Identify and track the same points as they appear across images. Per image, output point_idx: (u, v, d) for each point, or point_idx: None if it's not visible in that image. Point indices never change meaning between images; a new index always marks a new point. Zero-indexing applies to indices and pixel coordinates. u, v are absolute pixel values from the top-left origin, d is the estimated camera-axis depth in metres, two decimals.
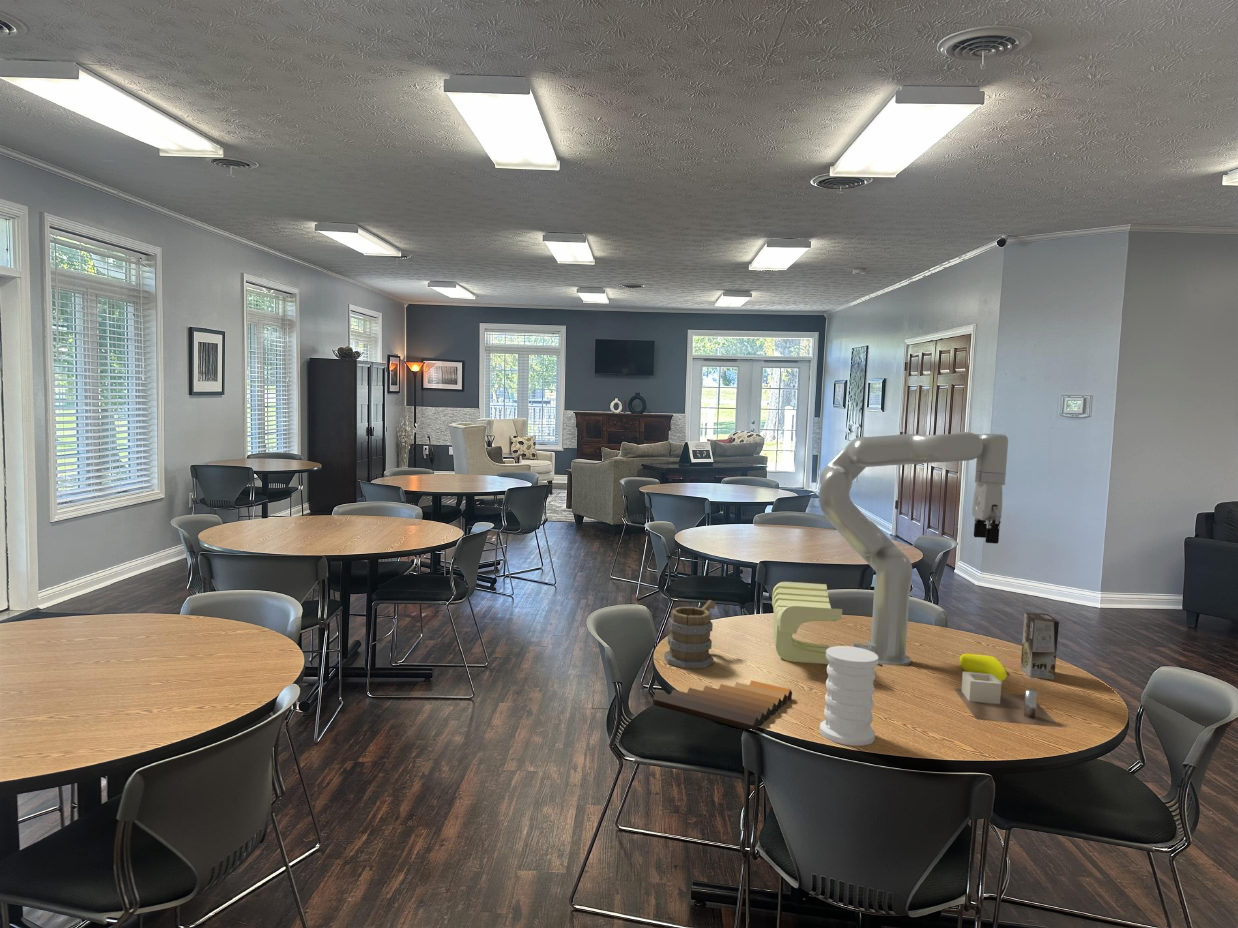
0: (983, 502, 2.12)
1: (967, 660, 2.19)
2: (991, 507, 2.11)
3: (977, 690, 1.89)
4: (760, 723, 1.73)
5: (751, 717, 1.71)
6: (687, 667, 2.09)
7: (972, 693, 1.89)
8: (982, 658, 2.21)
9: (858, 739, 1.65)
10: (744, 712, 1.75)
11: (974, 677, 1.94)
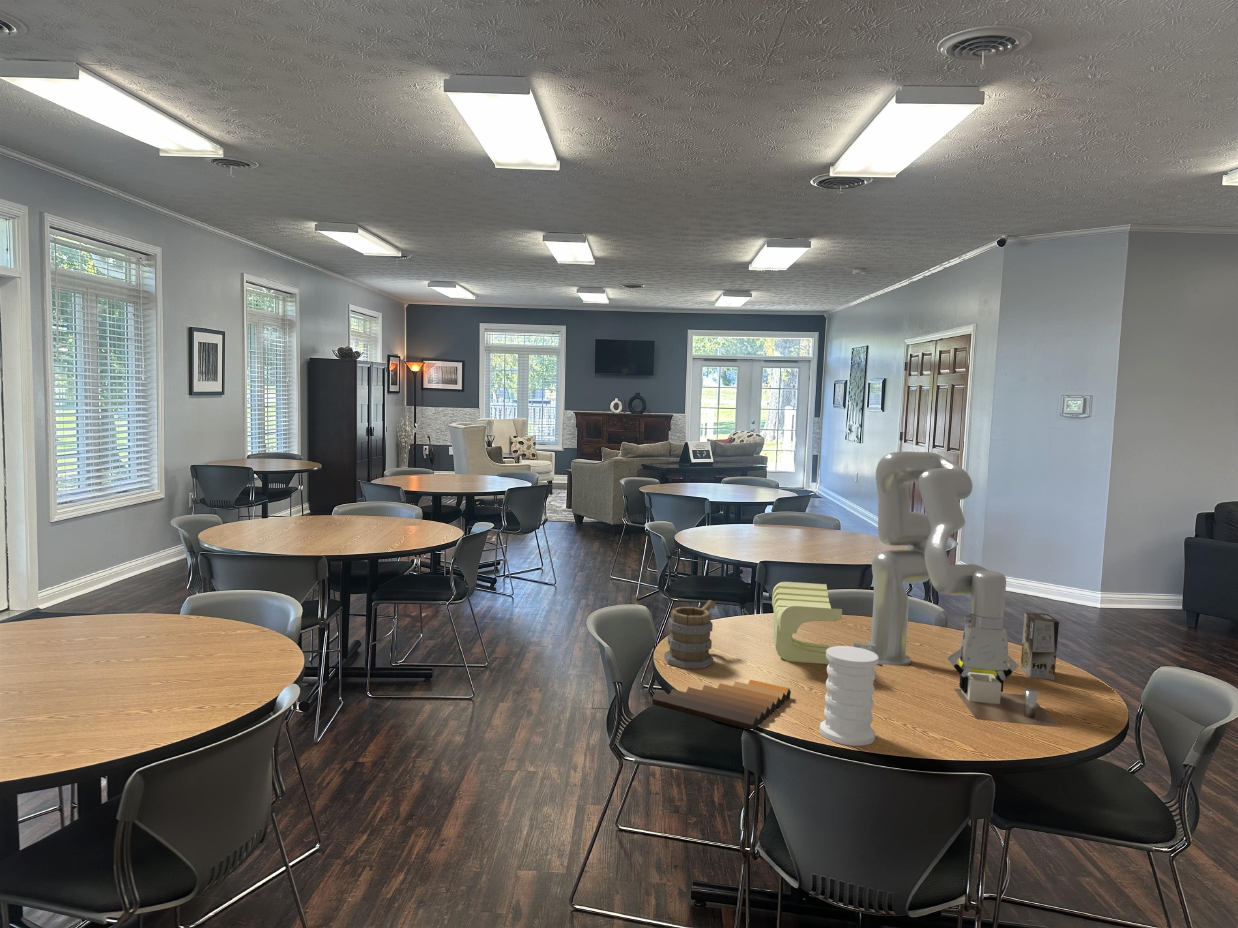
0: (1004, 651, 1.88)
1: None
2: None
3: (977, 690, 1.89)
4: (759, 722, 1.73)
5: (750, 716, 1.71)
6: (687, 667, 2.09)
7: (972, 693, 1.89)
8: None
9: (858, 739, 1.65)
10: (743, 711, 1.75)
11: (974, 677, 1.94)
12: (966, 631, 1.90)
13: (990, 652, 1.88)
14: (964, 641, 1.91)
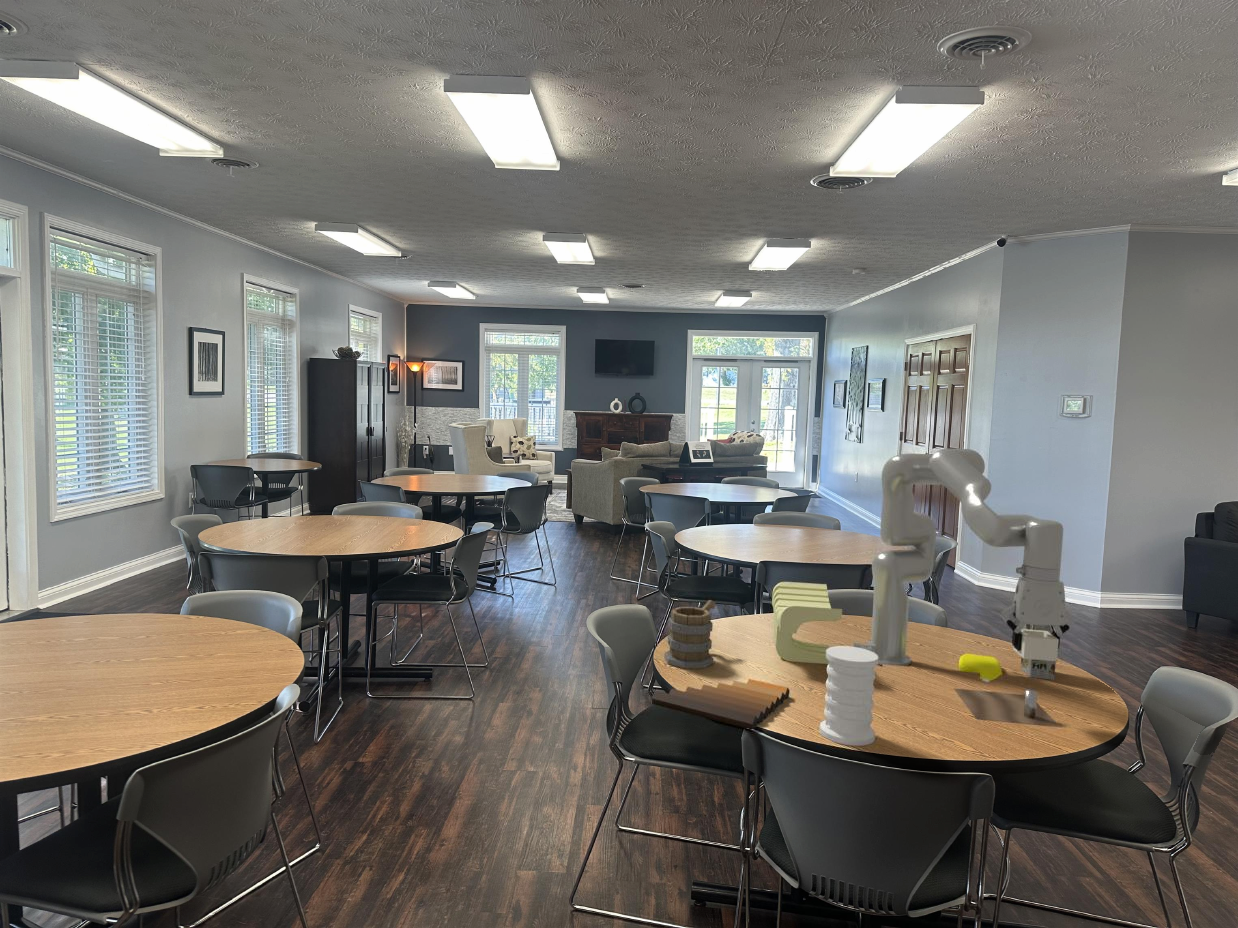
0: (1062, 605, 1.76)
1: (964, 659, 2.19)
2: None
3: (1033, 647, 1.76)
4: (759, 722, 1.74)
5: (750, 716, 1.72)
6: (687, 667, 2.09)
7: (1027, 650, 1.77)
8: (982, 658, 2.20)
9: (858, 739, 1.65)
10: (743, 711, 1.76)
11: (1027, 634, 1.82)
12: (1020, 584, 1.78)
13: (1046, 606, 1.76)
14: (1018, 595, 1.78)
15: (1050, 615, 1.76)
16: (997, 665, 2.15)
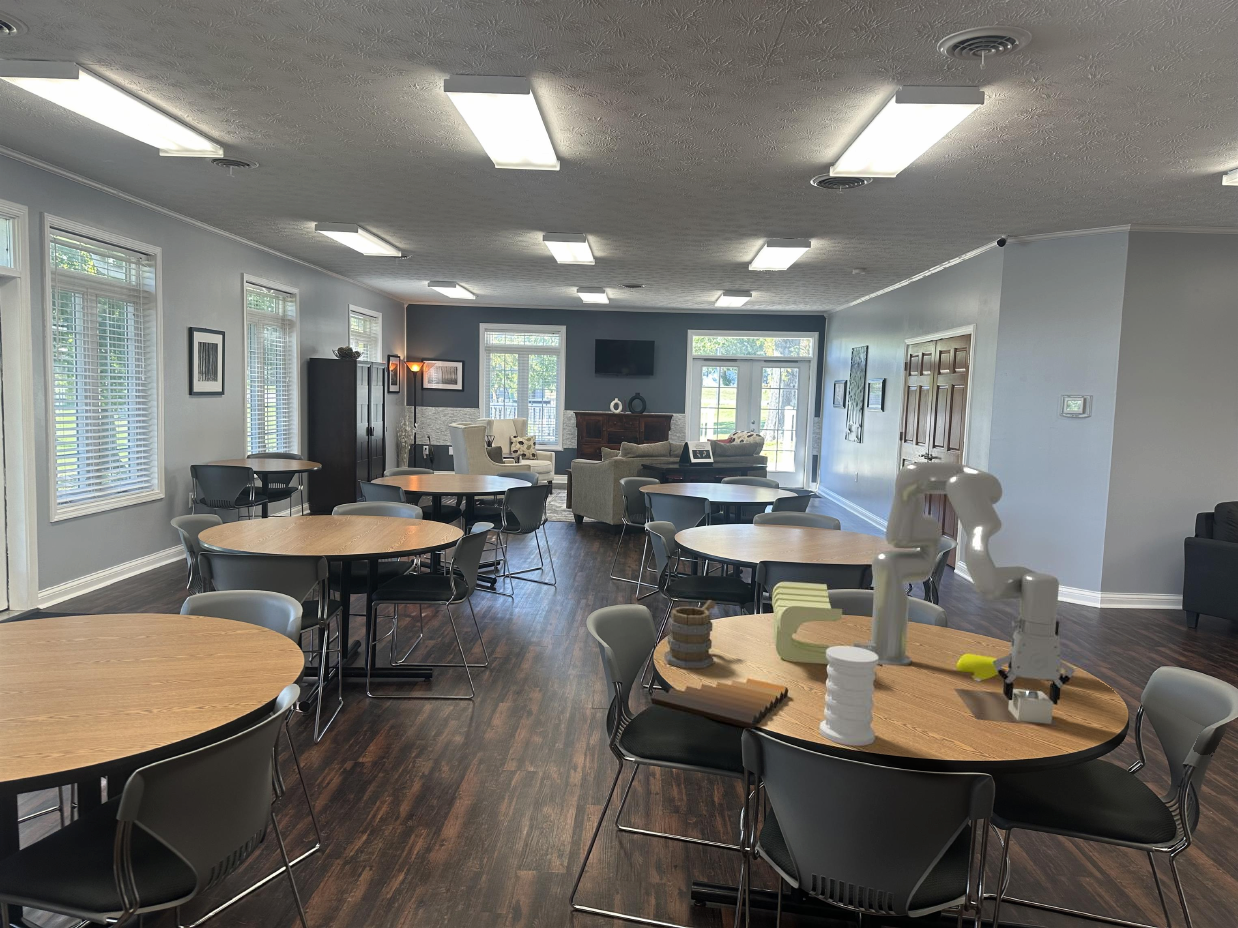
0: (1057, 659, 1.77)
1: (963, 659, 2.19)
2: None
3: (1027, 709, 1.78)
4: (758, 721, 1.74)
5: (749, 715, 1.72)
6: (687, 667, 2.09)
7: (1021, 712, 1.78)
8: (982, 659, 2.20)
9: (858, 739, 1.65)
10: (742, 710, 1.76)
11: (1022, 694, 1.83)
12: (1015, 638, 1.79)
13: (1042, 660, 1.77)
14: (1013, 648, 1.79)
15: (1045, 669, 1.77)
16: None
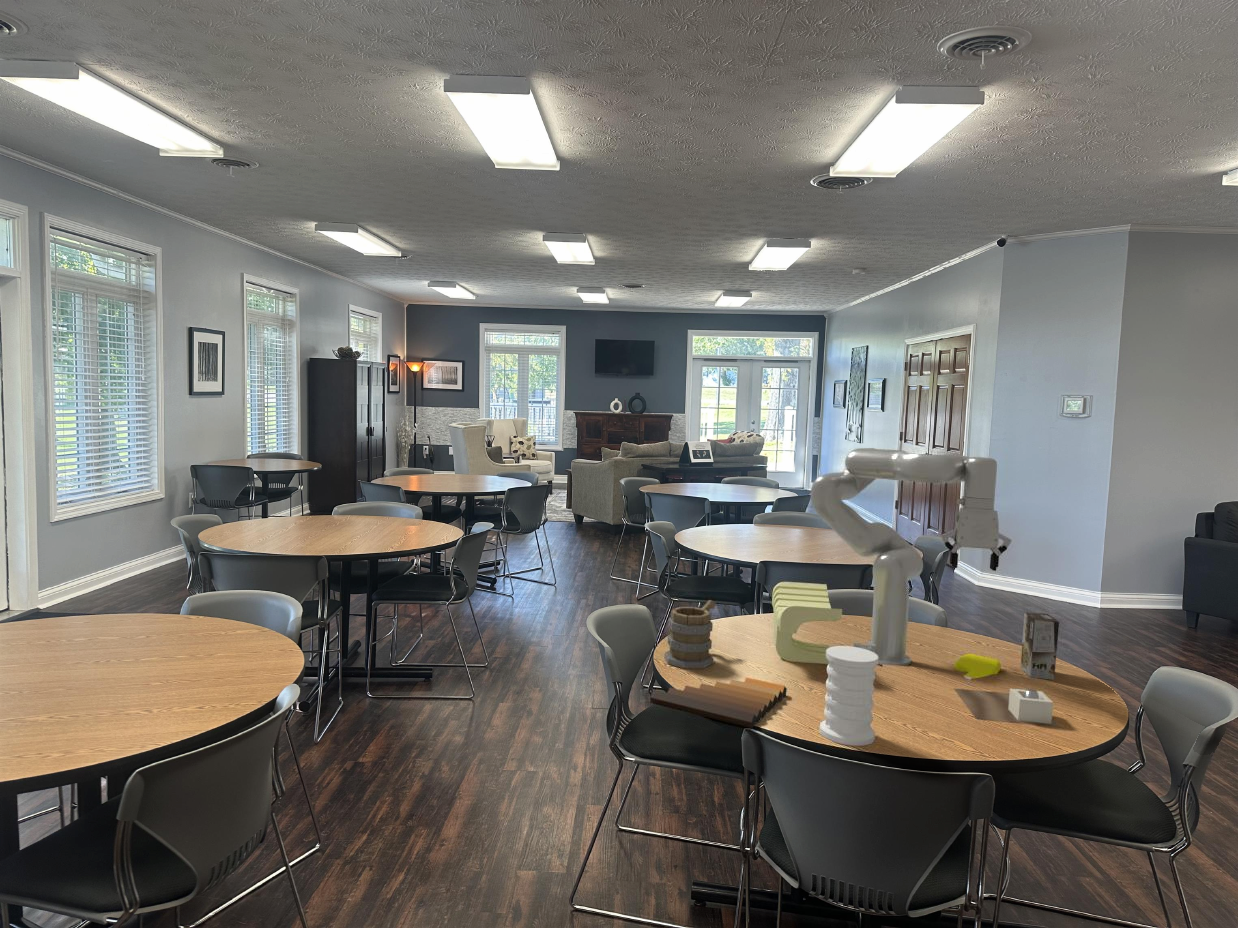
0: (995, 530, 2.03)
1: (962, 658, 2.20)
2: None
3: (1027, 709, 1.78)
4: (757, 720, 1.75)
5: (749, 714, 1.73)
6: (687, 667, 2.09)
7: (1021, 712, 1.78)
8: (983, 659, 2.19)
9: (858, 739, 1.65)
10: (741, 709, 1.77)
11: (1022, 694, 1.83)
12: (960, 513, 2.05)
13: (982, 531, 2.03)
14: (958, 522, 2.05)
15: (985, 539, 2.03)
16: (993, 666, 2.14)
